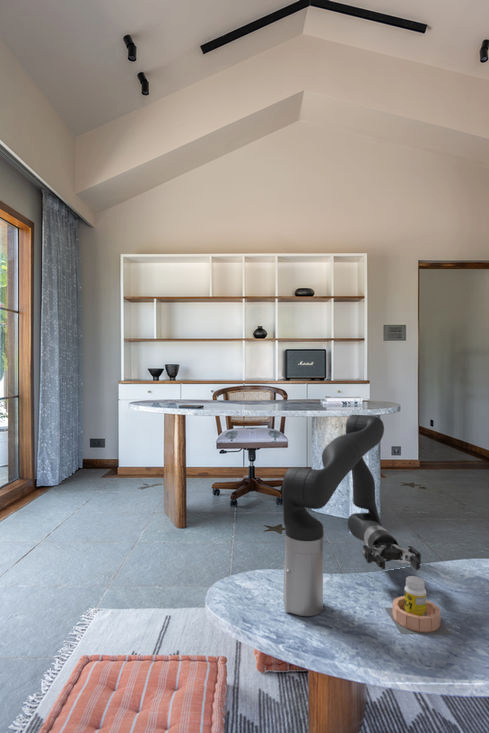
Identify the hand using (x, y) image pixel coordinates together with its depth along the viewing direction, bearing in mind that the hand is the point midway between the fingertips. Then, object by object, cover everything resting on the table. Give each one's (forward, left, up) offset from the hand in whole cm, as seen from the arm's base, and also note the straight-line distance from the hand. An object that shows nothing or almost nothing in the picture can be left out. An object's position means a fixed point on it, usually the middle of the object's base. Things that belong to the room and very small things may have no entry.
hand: (400, 565), depth 110 cm
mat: (0, -10, -9) cm, 13 cm away
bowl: (0, -10, -8) cm, 13 cm away
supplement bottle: (0, -10, -8) cm, 12 cm away
